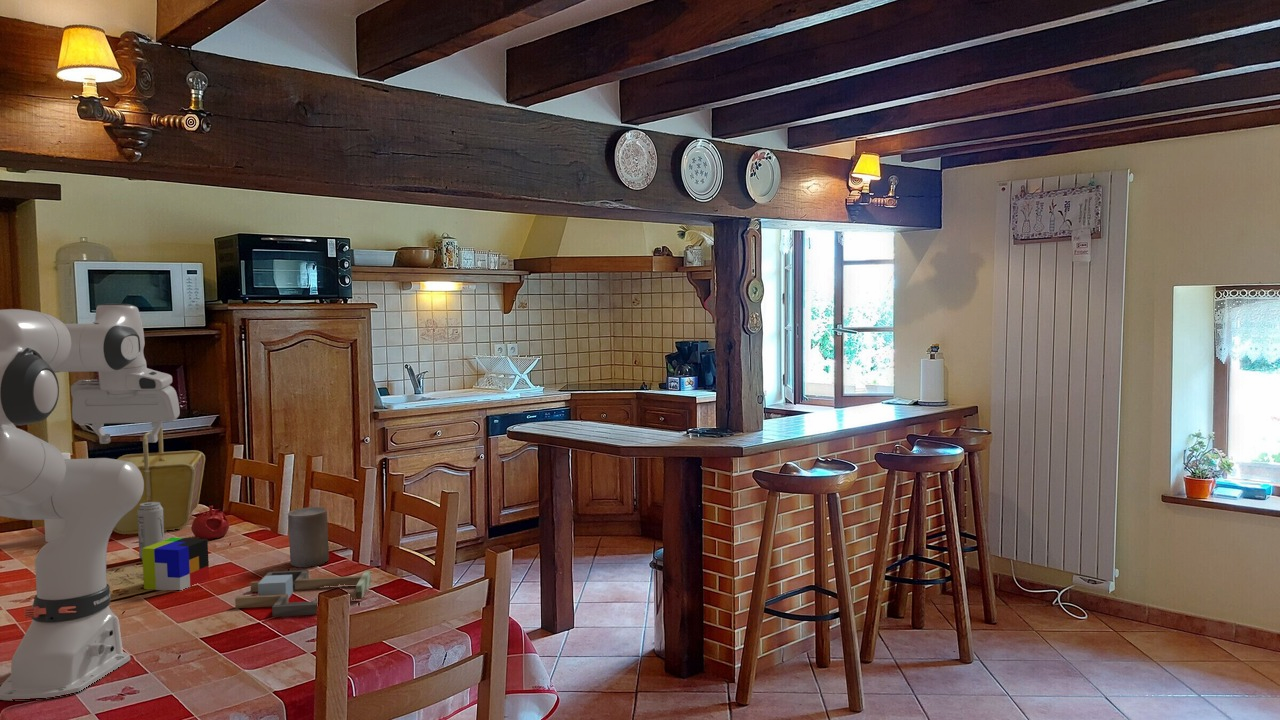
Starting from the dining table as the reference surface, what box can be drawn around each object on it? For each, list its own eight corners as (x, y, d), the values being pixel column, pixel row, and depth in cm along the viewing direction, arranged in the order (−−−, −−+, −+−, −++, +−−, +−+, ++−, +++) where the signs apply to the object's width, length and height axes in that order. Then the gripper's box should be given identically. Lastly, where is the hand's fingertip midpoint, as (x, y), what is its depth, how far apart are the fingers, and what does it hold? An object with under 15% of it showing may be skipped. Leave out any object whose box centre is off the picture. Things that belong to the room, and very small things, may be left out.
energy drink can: (163, 560, 233) (161, 504, 232) (137, 563, 230) (135, 507, 229) (166, 554, 238) (164, 500, 237) (141, 557, 236) (139, 502, 235)
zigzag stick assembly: (355, 612, 191) (355, 596, 191) (224, 619, 187) (224, 603, 187) (375, 575, 217) (375, 561, 217) (261, 581, 214) (260, 567, 213)
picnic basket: (119, 517, 283) (115, 425, 281) (207, 509, 292) (204, 420, 290) (99, 539, 256) (94, 437, 254) (197, 530, 265) (193, 432, 263)
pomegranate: (184, 541, 253) (182, 509, 252) (210, 532, 262) (208, 501, 262) (212, 542, 250) (210, 510, 249) (237, 533, 259) (235, 502, 259)
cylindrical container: (47, 537, 258) (43, 453, 256) (76, 534, 261) (72, 451, 259) (43, 543, 251) (38, 457, 250) (72, 540, 254) (68, 455, 253)
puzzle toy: (180, 591, 207) (178, 550, 206) (143, 589, 209) (142, 548, 208) (209, 578, 216) (207, 539, 216) (174, 576, 218) (172, 537, 218)
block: (286, 601, 199) (285, 582, 199) (258, 603, 198) (257, 583, 198) (293, 593, 205) (292, 574, 205) (266, 594, 204) (265, 575, 204)
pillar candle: (334, 556, 234) (331, 501, 233) (322, 567, 224) (319, 509, 224) (297, 557, 234) (295, 502, 233) (284, 568, 224) (281, 511, 223)
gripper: (62, 382, 179) (69, 447, 182) (168, 381, 182) (173, 445, 185) (77, 376, 186) (83, 439, 188) (179, 375, 189) (184, 437, 191)
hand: (129, 442), depth 186 cm, fingers open, 8 cm apart
